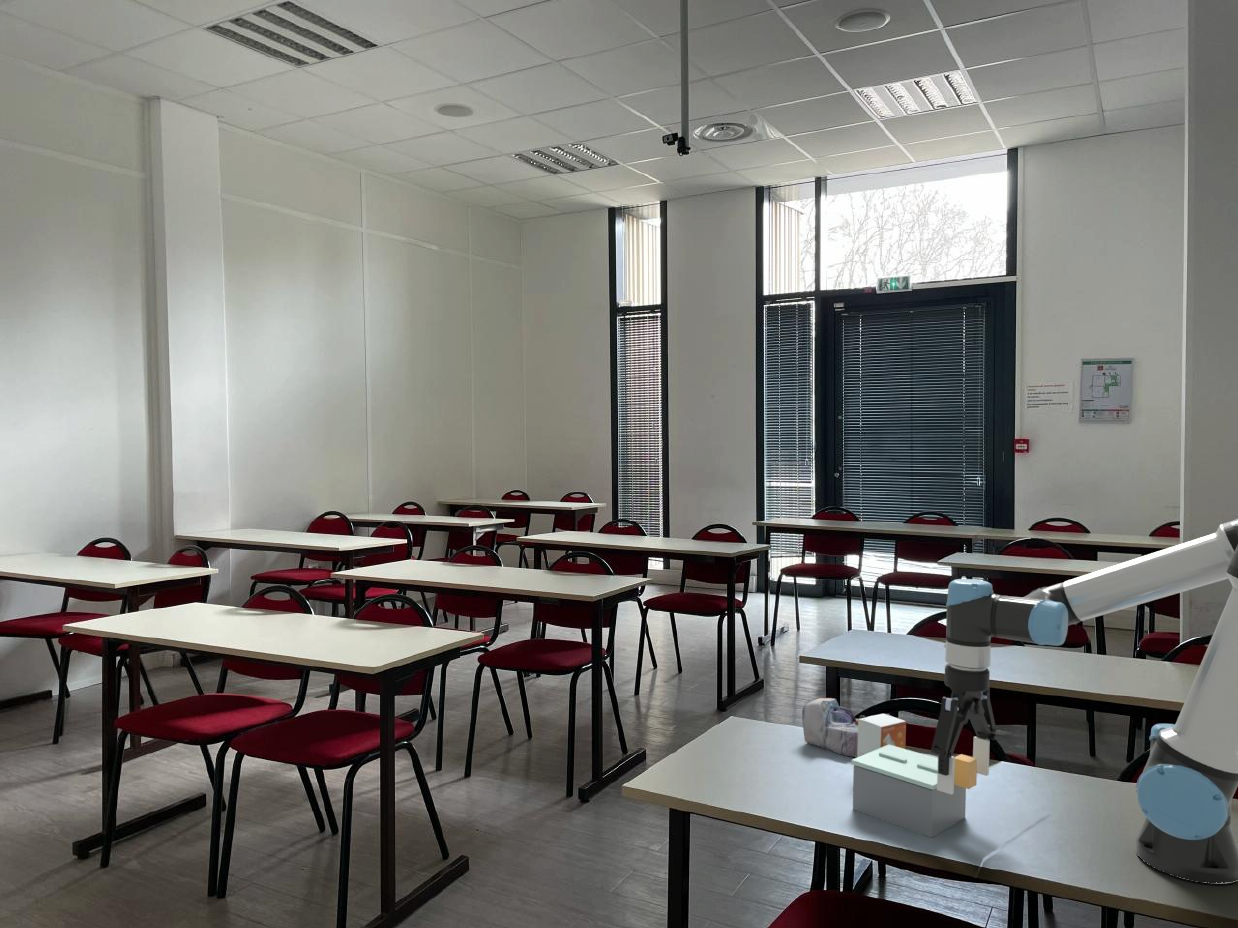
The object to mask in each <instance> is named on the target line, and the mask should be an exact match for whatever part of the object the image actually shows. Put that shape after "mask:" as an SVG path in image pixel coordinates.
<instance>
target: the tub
mask: <svg viewBox="0 0 1238 928" xmlns="http://www.w3.org/2000/svg"><path fill="white" fill-rule="evenodd" d="M852 781H853V784H852V785H853V786H852V789H853V790H852V810H853V811H856V812H858V813H862V814H865V815H868V816H870V817H873V818H876V819H879V820H881V821H884V822H887V823H889V824H892V825H895V826H897V827H901V828H902V829H905V830H906V829H907V830H908V831H910V832H914V833H916V834H919V835H922V836H925V837H928V838H931V839H932V838H933V837H935V836H937V835H939V834H940V833H942V832H944V831H945V830H946V829H949V828H950V827H952V826H954V825H956V824H957V823H959V822H960V821H962V820H964V819H965V818H966V801H967V800H966V799H967V797H966V796H967V792H966V791H967V789H966V788H963V787H960V786H957V785H954V794H952V795H951V794H948V793H945V792H942V791H939V790H937V788H936V789H934V790H931V789H928V788H925V787H922V786H919V785H916V784H913V783H909V782H906V781H903V780H900V779H897V778H894V777H891V776H888V775H884V774H881V773H878V772H875V771H872V770H869V769H866V768H862V767H859V766H856V765H853V780H852Z"/></svg>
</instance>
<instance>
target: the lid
mask: <svg viewBox="0 0 1238 928" xmlns="http://www.w3.org/2000/svg"><path fill="white" fill-rule="evenodd" d="M954 757H955V768H954V785H957V786H960V787H963V788H966V790H967V789H968V790H970V789H972V788H974V787H975V786H977V785H978V784H977V782H978V781H977V779H978V778H977V777H978V773H977V758H973V756H970V755H966V754H963V753H961V754H958V755H956V756H954ZM851 765H853V766H854V765H856V766H859V767H862V768H866V769H869V770H872V771H875V772H878V773H881V774H884V775H888V776H891V777H894V778H897V779H900V780H903V781H906V782H909V783H913V784H916V785H919V786H922V787H925V788H928V789H931V790H934V789H936V788H937V774H938V757H933V756H930V755H928V754H927V755H926V754H923V753H920V752H916V751H913V750H910V749H906V748H905V749H903V748H900V747H896V746H893V745H886V746H884V747H881V748H879V749H877V750H874V751H872V752H869V753H867V754H865V755H862V756H860V757H855V758H852V759H851Z"/></svg>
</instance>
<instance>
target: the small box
mask: <svg viewBox="0 0 1238 928" xmlns="http://www.w3.org/2000/svg"><path fill="white" fill-rule="evenodd" d="M873 715H874V716H873ZM873 715H870V716H865V717H866V718H862V719H859V718H857V719H858V750H857V757H860V756H862V755H865V754H867V753H869V752H872V751H874V750H877V749H879V748H881V747H884V746H886V745H893V746H896V747H900V748H903V749H906V736H907V733H906V732H907V721H906V720H904V719H901V718H899V717H894V716H892V715H890V714H887V713H879V714H873ZM857 757H856V758H857Z"/></svg>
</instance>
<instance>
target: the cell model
mask: <svg viewBox="0 0 1238 928" xmlns="http://www.w3.org/2000/svg"><path fill="white" fill-rule="evenodd" d="M801 715H802V717H801V720H802V728H803V738H804V741H805V742H806V743H807V744H811V745H815V746H818V747H822V748H823V749H827V750H828V751H831V752H833V753H837V754H839V755H844V756H845V757H852V758H853V757H855V758H857V750H858V719H862V718H866V717H867V716H866V715H862V714H860V715H859V717H858V718H856V716H855V715H854V714H853V712H852V711H851V709H850V708H848V707H844V706H840V705H839V703H838V701H837V699H836V698H832V697H830V698H829V697H822V698H821V697H819V698H817V699H814V700H812V701H809V702H807V703H805V704H804V705H803V707H802V710H801ZM874 715H875V714H873V715H872V716H874Z"/></svg>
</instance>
